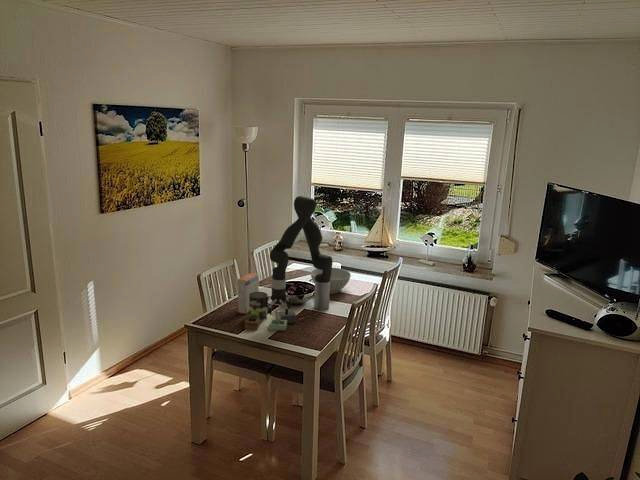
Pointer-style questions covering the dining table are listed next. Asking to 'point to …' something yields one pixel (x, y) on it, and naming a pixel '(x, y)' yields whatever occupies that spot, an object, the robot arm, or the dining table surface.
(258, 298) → the coffee can
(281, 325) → the tray
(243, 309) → the cracker box
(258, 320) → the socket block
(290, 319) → the chock
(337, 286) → the decorative bowl
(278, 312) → the pin
